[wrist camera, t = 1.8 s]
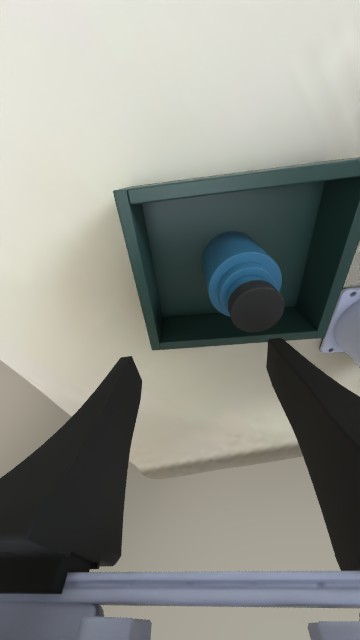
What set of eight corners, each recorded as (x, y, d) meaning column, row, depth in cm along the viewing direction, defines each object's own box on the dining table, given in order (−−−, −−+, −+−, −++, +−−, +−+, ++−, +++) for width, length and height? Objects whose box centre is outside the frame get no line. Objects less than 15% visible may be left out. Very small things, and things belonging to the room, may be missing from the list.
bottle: (259, 227, 17) (313, 265, 10) (254, 282, 19) (294, 341, 12) (200, 234, 17) (212, 275, 10) (203, 286, 19) (214, 347, 13)
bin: (336, 159, 15) (390, 154, 11) (299, 309, 21) (325, 337, 18) (129, 186, 16) (112, 190, 12) (157, 320, 22) (151, 350, 19)
